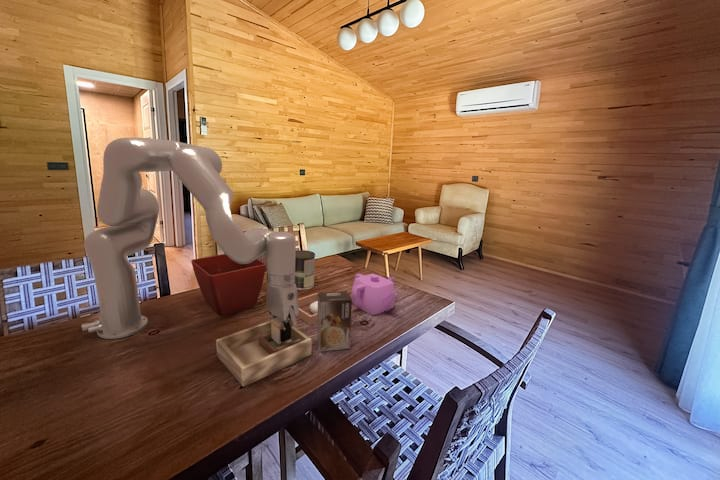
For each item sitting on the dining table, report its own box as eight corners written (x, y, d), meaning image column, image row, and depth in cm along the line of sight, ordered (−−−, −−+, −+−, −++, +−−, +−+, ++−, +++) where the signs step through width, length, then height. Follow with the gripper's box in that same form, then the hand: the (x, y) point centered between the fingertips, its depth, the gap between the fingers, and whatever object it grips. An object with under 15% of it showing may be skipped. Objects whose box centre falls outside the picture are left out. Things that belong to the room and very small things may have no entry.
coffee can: (291, 290, 131) (291, 258, 127) (288, 281, 140) (289, 250, 136) (316, 289, 134) (317, 257, 130) (312, 279, 143) (313, 249, 140)
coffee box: (345, 337, 100) (348, 290, 96) (350, 349, 94) (353, 299, 90) (316, 340, 98) (317, 292, 94) (319, 352, 92) (320, 301, 88)
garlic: (325, 305, 121) (325, 296, 120) (335, 312, 116) (335, 303, 115) (306, 310, 116) (306, 300, 115) (315, 318, 111) (316, 308, 110)
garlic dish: (310, 325, 106) (310, 317, 105) (287, 309, 115) (287, 302, 114) (340, 313, 115) (341, 305, 114) (317, 299, 124) (318, 292, 124)
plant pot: (193, 303, 116) (190, 259, 111) (244, 290, 129) (243, 250, 124) (213, 324, 103) (210, 276, 98) (267, 308, 115) (267, 264, 111)
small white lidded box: (278, 344, 89) (278, 325, 88) (271, 337, 92) (270, 319, 90) (291, 339, 92) (291, 320, 90) (283, 333, 95) (283, 314, 93)
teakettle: (352, 294, 131) (353, 266, 128) (393, 297, 131) (396, 269, 128) (348, 314, 115) (350, 282, 112) (395, 318, 114) (399, 286, 111)
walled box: (243, 387, 77) (242, 369, 76) (217, 355, 88) (216, 339, 86) (311, 354, 91) (311, 339, 89) (281, 331, 101) (281, 316, 100)
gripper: (310, 283, 84) (309, 344, 89) (277, 265, 95) (277, 320, 100) (285, 291, 79) (285, 355, 84) (253, 271, 90) (255, 328, 95)
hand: (281, 335), depth 92 cm, fingers closed on small white lidded box, 4 cm apart
